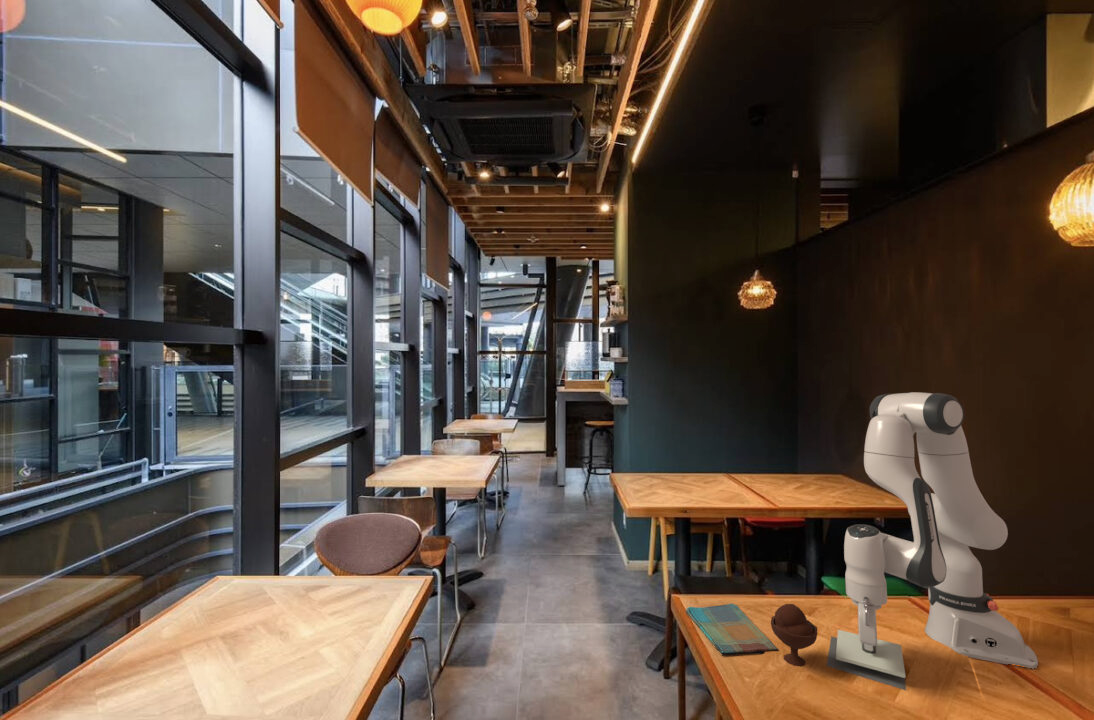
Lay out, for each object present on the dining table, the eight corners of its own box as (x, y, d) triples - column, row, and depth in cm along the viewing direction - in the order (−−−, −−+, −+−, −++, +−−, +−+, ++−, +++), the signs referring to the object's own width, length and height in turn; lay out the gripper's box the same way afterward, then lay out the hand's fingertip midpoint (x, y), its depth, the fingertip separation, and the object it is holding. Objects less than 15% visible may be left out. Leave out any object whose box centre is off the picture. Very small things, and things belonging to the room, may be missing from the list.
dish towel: (736, 610, 147) (736, 602, 147) (781, 654, 124) (781, 645, 124) (684, 613, 146) (684, 605, 146) (720, 659, 122) (720, 649, 122)
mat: (902, 657, 121) (902, 655, 121) (905, 692, 108) (905, 690, 108) (831, 637, 131) (831, 636, 131) (826, 667, 117) (826, 665, 118)
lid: (901, 648, 121) (900, 629, 121) (905, 678, 109) (904, 657, 109) (838, 632, 129) (837, 615, 129) (836, 659, 117) (835, 639, 117)
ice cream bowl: (826, 677, 114) (824, 616, 114) (777, 672, 116) (776, 611, 116) (810, 652, 124) (809, 595, 124) (766, 647, 126) (764, 592, 127)
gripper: (882, 611, 109) (885, 671, 109) (879, 578, 126) (882, 629, 126) (850, 604, 113) (853, 662, 112) (851, 573, 130) (854, 623, 129)
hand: (868, 644), depth 119 cm, fingers closed on lid, 3 cm apart
